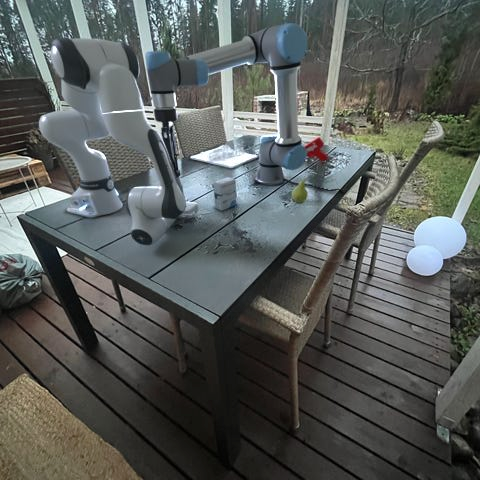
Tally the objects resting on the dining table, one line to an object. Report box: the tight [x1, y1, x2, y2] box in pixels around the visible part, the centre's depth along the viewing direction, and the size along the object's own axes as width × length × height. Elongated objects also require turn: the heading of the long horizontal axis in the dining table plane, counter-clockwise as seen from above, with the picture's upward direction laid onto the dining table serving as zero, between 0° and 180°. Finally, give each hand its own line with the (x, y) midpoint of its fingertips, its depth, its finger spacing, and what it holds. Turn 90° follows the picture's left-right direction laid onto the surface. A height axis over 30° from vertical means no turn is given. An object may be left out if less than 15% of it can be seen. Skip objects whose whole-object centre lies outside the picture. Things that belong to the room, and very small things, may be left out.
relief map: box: [190, 144, 259, 169], centre depth 178 cm, size 27×35×5 cm
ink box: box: [212, 176, 237, 211], centre depth 115 cm, size 8×5×12 cm, turn 135°
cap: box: [177, 169, 182, 178], centre depth 102 cm, size 4×4×2 cm
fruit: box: [291, 174, 311, 204], centre depth 118 cm, size 7×8×12 cm
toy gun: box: [303, 136, 329, 164], centre depth 170 cm, size 18×4×15 cm
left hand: (178, 199), depth 109 cm, fingers closed on bottle, 5 cm apart
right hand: (174, 175), depth 102 cm, fingers closed on cap, 4 cm apart
